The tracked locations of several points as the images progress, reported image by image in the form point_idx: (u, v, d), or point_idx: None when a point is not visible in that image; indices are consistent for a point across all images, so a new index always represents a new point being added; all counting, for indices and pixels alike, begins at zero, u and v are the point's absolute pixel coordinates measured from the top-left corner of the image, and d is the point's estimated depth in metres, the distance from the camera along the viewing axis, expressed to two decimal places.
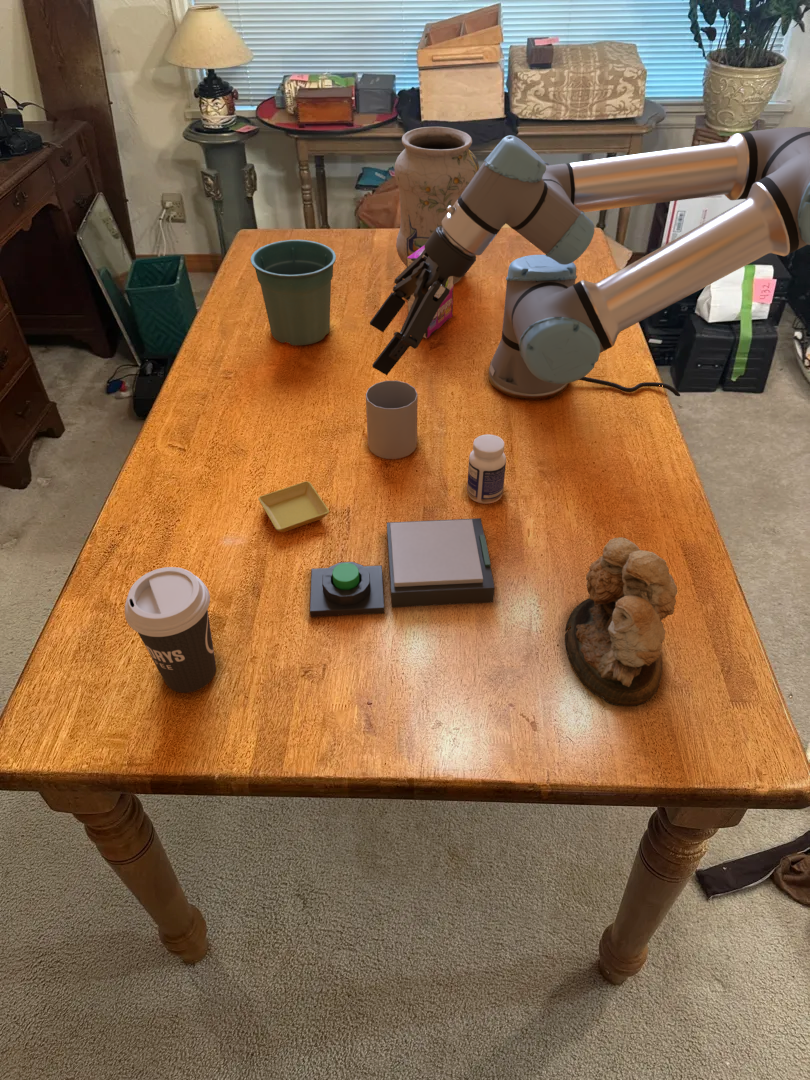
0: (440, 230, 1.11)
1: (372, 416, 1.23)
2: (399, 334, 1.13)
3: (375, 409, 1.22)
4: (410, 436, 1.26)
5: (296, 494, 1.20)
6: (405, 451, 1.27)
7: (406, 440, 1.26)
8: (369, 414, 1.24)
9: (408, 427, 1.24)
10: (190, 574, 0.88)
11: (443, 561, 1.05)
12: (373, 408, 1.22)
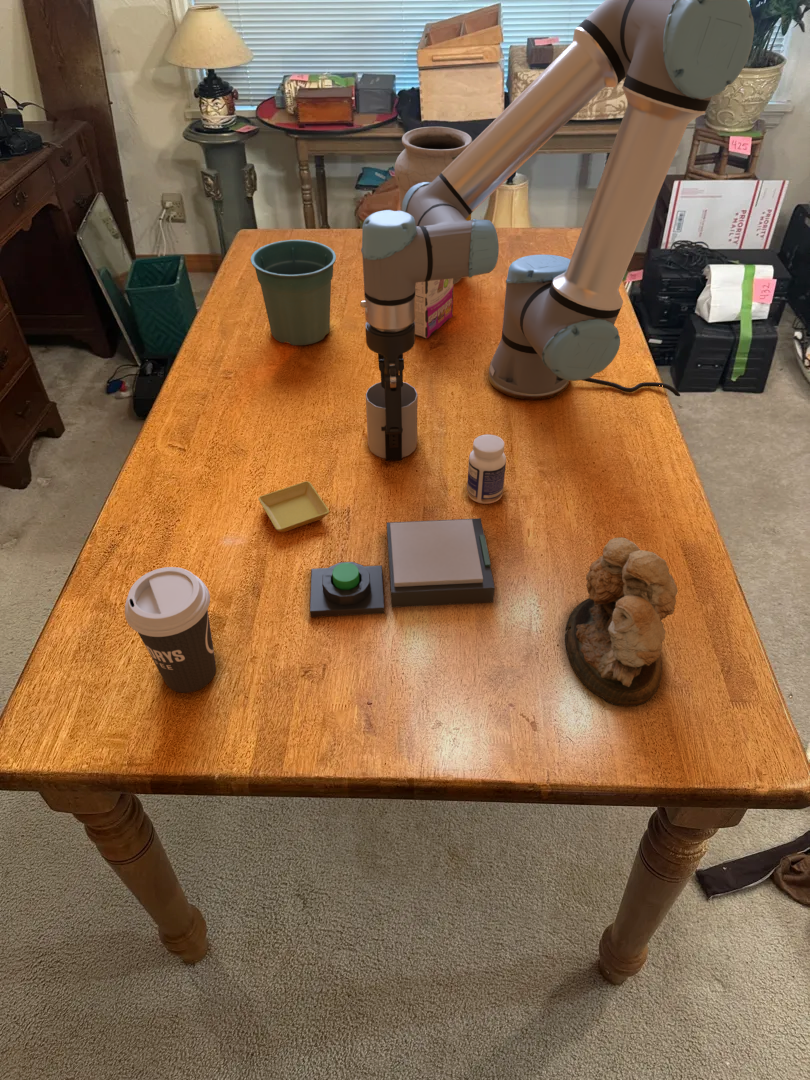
0: (368, 323, 1.14)
1: (372, 416, 1.23)
2: (384, 429, 1.21)
3: (375, 409, 1.22)
4: (410, 436, 1.26)
5: (296, 494, 1.20)
6: (405, 451, 1.27)
7: (406, 440, 1.26)
8: (369, 414, 1.24)
9: (408, 427, 1.24)
10: (190, 574, 0.88)
11: (443, 561, 1.05)
12: (373, 408, 1.22)
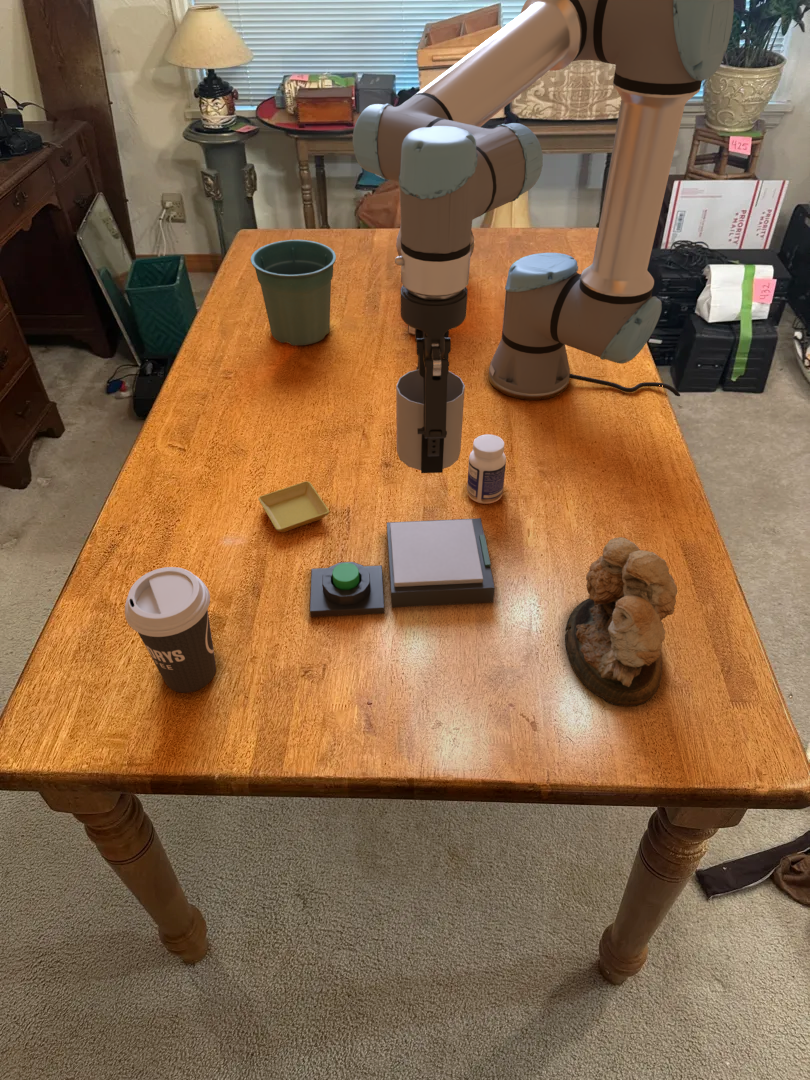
0: (405, 288, 0.84)
1: (405, 414, 0.93)
2: (421, 431, 0.91)
3: (409, 405, 0.91)
4: (453, 441, 0.96)
5: (296, 494, 1.20)
6: (446, 461, 0.97)
7: (448, 446, 0.96)
8: (400, 412, 0.94)
9: (452, 429, 0.94)
10: (190, 574, 0.88)
11: (443, 561, 1.05)
12: (406, 404, 0.92)
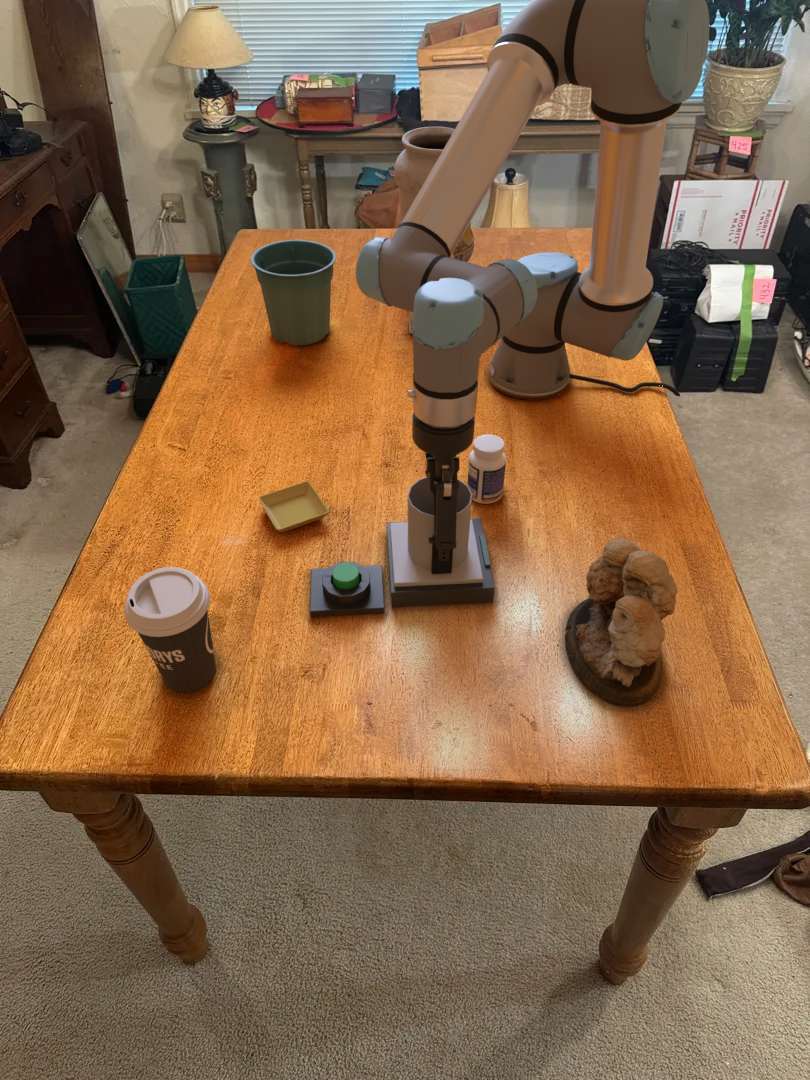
0: None
1: (417, 522, 0.99)
2: (432, 541, 0.97)
3: (420, 516, 0.98)
4: (462, 544, 1.02)
5: (296, 494, 1.20)
6: (455, 562, 1.03)
7: (456, 549, 1.02)
8: (412, 519, 1.00)
9: (460, 535, 1.00)
10: (190, 574, 0.88)
11: None
12: (418, 514, 0.98)
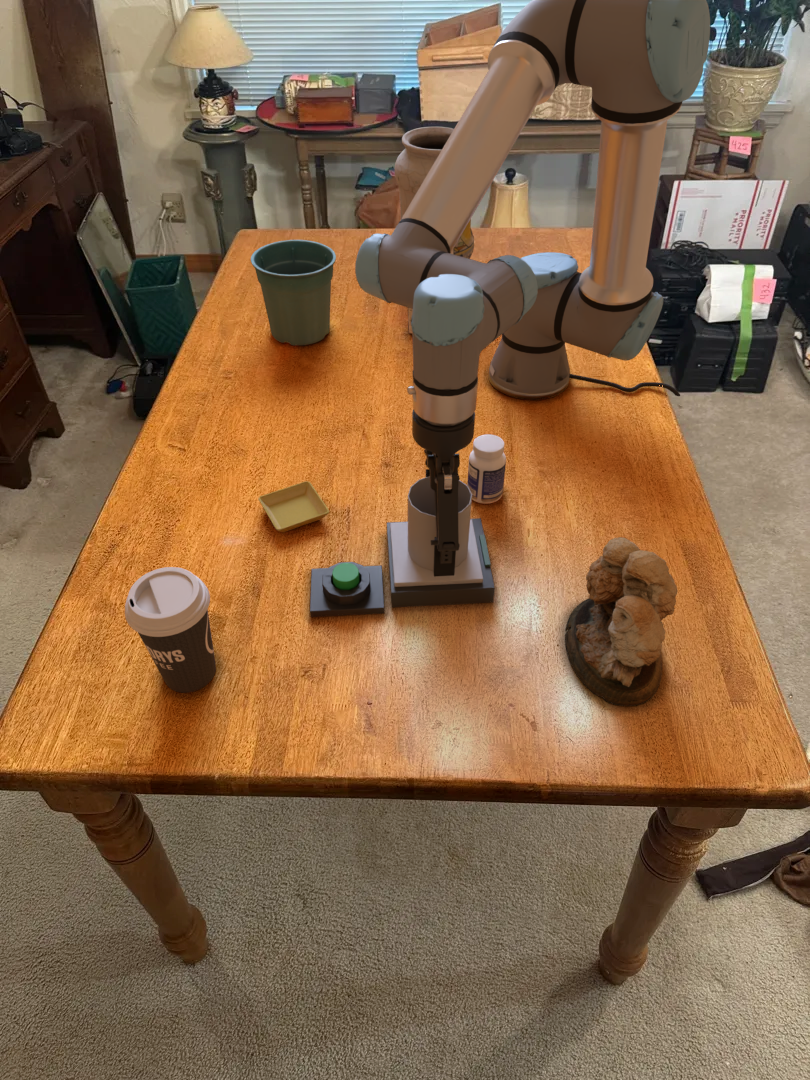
0: None
1: (417, 522, 0.99)
2: (434, 542, 0.94)
3: (420, 516, 0.98)
4: (462, 544, 1.02)
5: (296, 494, 1.20)
6: (455, 562, 1.03)
7: None
8: (412, 519, 1.00)
9: (460, 535, 1.00)
10: (190, 574, 0.88)
11: None
12: (418, 514, 0.98)
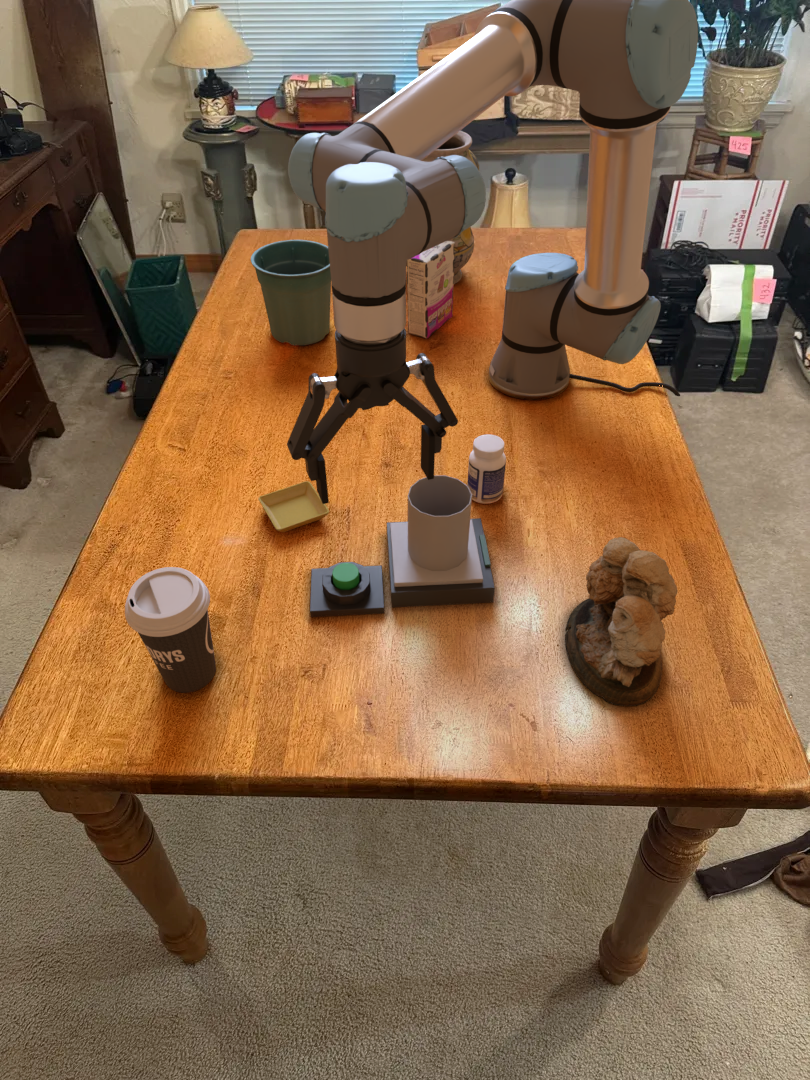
0: None
1: (417, 522, 0.99)
2: None
3: (420, 516, 0.98)
4: (462, 544, 1.02)
5: (296, 494, 1.20)
6: (455, 562, 1.03)
7: (456, 549, 1.02)
8: (412, 519, 1.00)
9: (460, 535, 1.00)
10: (190, 574, 0.88)
11: None
12: (418, 514, 0.98)
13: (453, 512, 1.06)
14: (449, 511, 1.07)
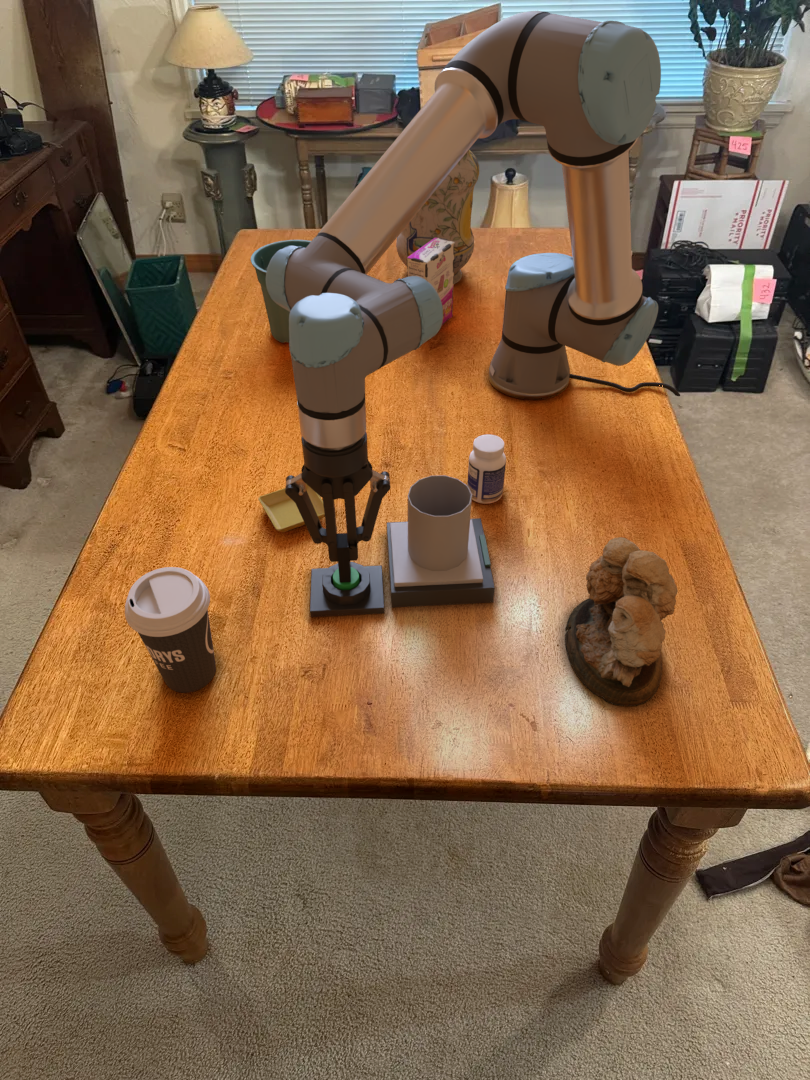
0: None
1: (417, 522, 0.99)
2: None
3: (420, 516, 0.98)
4: (462, 544, 1.02)
5: None
6: (455, 562, 1.03)
7: (456, 549, 1.02)
8: (412, 519, 1.00)
9: (460, 535, 1.00)
10: (190, 574, 0.88)
11: None
12: (418, 514, 0.98)
13: (453, 512, 1.06)
14: (449, 511, 1.07)
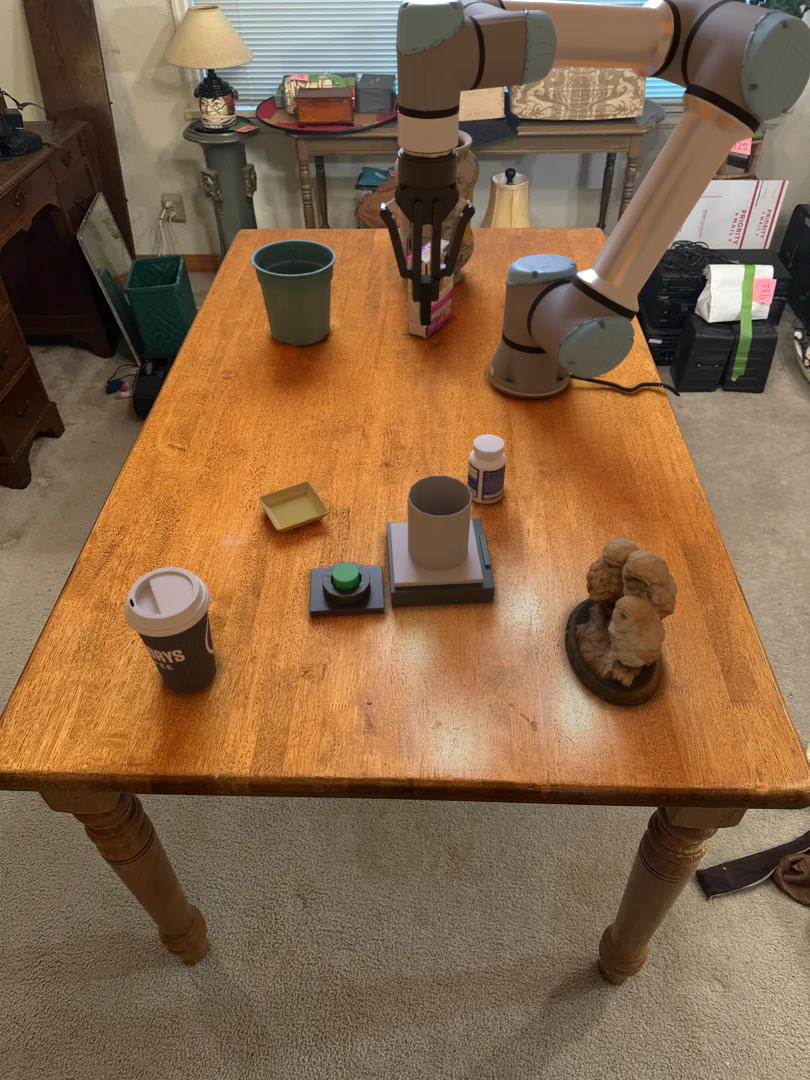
0: None
1: (417, 522, 0.99)
2: None
3: (420, 516, 0.98)
4: (462, 544, 1.02)
5: (296, 494, 1.20)
6: (455, 562, 1.03)
7: (456, 549, 1.02)
8: (412, 519, 1.00)
9: (460, 535, 1.00)
10: (190, 574, 0.88)
11: None
12: (418, 514, 0.98)
13: (453, 512, 1.06)
14: (449, 511, 1.07)
